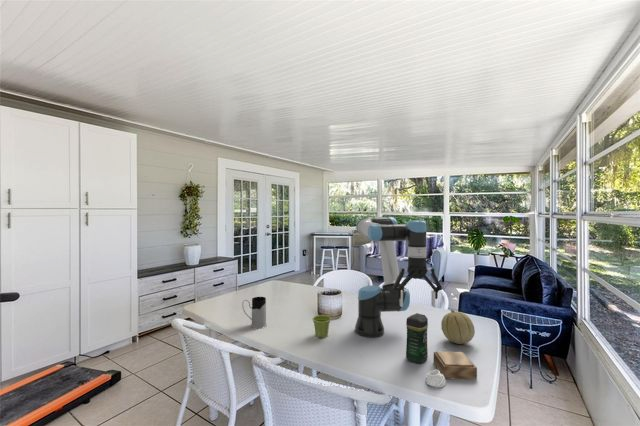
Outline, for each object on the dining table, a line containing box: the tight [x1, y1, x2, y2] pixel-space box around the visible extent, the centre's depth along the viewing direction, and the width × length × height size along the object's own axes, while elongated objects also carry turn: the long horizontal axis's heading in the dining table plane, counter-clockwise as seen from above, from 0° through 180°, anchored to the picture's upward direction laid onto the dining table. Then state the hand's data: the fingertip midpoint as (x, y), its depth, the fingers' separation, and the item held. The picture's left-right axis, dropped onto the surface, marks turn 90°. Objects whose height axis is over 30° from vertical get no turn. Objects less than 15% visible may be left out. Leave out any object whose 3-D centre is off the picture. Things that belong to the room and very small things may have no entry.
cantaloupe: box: [440, 309, 476, 345], centre depth 143 cm, size 15×15×15 cm
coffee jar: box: [405, 312, 429, 364], centre depth 127 cm, size 10×8×19 cm
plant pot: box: [312, 314, 332, 339], centre depth 151 cm, size 9×9×9 cm
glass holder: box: [241, 296, 268, 329], centre depth 165 cm, size 9×14×15 cm, turn 78°
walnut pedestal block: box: [433, 350, 478, 380], centre depth 117 cm, size 12×12×5 cm
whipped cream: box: [425, 369, 447, 388], centre depth 109 cm, size 8×7×5 cm
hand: (417, 306), depth 127 cm, fingers open, 13 cm apart
